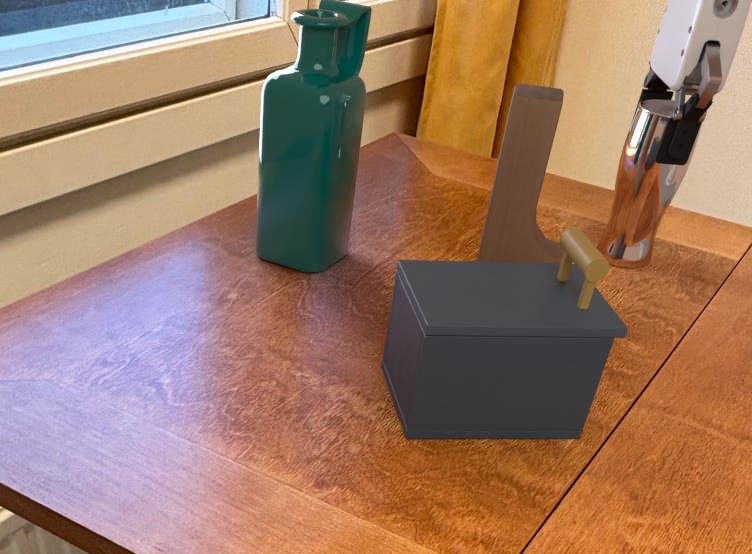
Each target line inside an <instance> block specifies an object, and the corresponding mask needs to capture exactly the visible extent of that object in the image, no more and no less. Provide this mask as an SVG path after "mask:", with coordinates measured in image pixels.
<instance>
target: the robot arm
mask: <svg viewBox="0 0 752 554" xmlns="http://www.w3.org/2000/svg"><path fill="white" fill-rule="evenodd" d="M751 4H752V0H668V1H667V4H666V7H665V10H664V12H663V15H662V19H661V22H660V24H659V27H658V30H657V34H656V37H655V40H654V44H653V47H652V51H651V55H650V60H649V62H648V63H649V70H648V72H647V73H646V75H645V76H644V79H643V85H642V86H643V88H642V89H641V92H640V95H639V97H638V102H637V105H636V107H635V110H634V114H633V117H632V119H631V123H630V125H629V128H630V127H631V124H632V121H633V119H634V116H635V114H636V111H637V108H638V105H639V103H640V102H641V101H643V100H647V99H667V100H673V97H674V101H675V102H674V111H673V117H668V119H667V122H666V125H665V128H664V131H663V134H662V137H661V140H660V143H659V146H658V149H657V151H656V154H655V157H654V160H655V162H656V163H658V164H670V165H685V164H686V163H687V161H688V159H689V156H690V153H691V151H692V148H693V145H694V142H695V140H696V137H697V134H698V132H699V129H700V126H701V123H702V124H703V123H704V122H705V120H706V117H707V112H708V110H709V109H710V107H711V106H712V105H713V103H714V101H713V100H714V97H715V95H717V94H720V93H721V91H722V90H723V89H724V87H725V84H726V82H727V78H728V76H729V74H730V70H731V68H732V64H733V62H734V59H735V56H736V53H737V49H738V47H739V44H740V41H741V38H742V36H743V35H742V34H743V32H744V28H745V24H746V22H747V19H748V15H749V11H750V9H751ZM674 92H675V95H674ZM686 96H690V97H689V98H688V99H687V101H686ZM701 127H702V126H701Z"/></svg>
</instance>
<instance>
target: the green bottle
mask: <svg viewBox="0 0 752 554" xmlns="http://www.w3.org/2000/svg"><path fill="white" fill-rule="evenodd" d="M372 10H373V9H372V7H371V6H369V5H364V4H359V3H353V2H349V1H348V2H347V1H342V0H320V2H319V4H318V8H304V9H303V8H302V9H298V10H295V11H293V13H292V14H291V15H290V20H291V22H293V23H294V24H296V25H297V26H299V36H298V50H297V51H298V52H297V56H296V60H295V62H294V63H293V64H291V65H288V66H286V67H283V68H280V69H277V70H275V71H273V72H272V73H270V74H269V75H268V76H267V77H266V78H265V81H264V83H263V85H262V89H261V96H260V97H261V99H260V120H259V121H260V123H259V147H258V169H257V171H258V172H257V194H256V195H257V196H256V217H255V239H254V241H255V242H254V243H255V244H254V251H255V254H256V255H257V257H258V258H260V259H261V260H264V261H267V262H270V263H273V264H275V265H280V266H283V267H286V268H289V269H292V270H296V271H298V272H301V273H309V274H310V273H311V274H312V273H319V272H323V271H325V270H326V269H327V268H329V267H330V266H332V265H334V264H335V263H336V262H338V261H340V260H341V259H342V258H344V257H345V256H347V254H348V252H349V249H350V247H349V246H350V239H351V230H352V222H353V214H354V213H353V212H354V205H355V195H356V188H357V179H358V170H359V162H360V155H361V144H362V137H363V129H364V128H363V127H364V119H365V110H366V101H367V88H366V87H367V86H366V83H365V81H364V80H363V78H362V77H360V76H359V75H360V74H361V70H362V67H363V64H364V60H365V55H366V49H367V44H368V37H369V31H370V24H371V18H372Z"/></svg>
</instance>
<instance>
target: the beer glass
mask: <svg viewBox="0 0 752 554" xmlns="http://www.w3.org/2000/svg"><path fill="white" fill-rule="evenodd" d="M674 102H675V99H674V100H673V99H672V100H667V99H647V100H643V101H641V102H640V103H639V105H638V108H637V111H636V110H635V111H636V114H635V113H634V114H635V116H634V115H633V117H634V119H633V118H632V120H633V121H632V120H631V123H632V124H631V123H630V126H631V127H630V126H629V130H628V132H627V134H626V137H625V140H624V144H623V147H622V150H621V155H620V156H619V157H620V158H619V162H618V167H617V172H616V176H615V177H616V178H615V184H614V190H613V197H612V198H613V199H612V203H611V211H610V214H609V218H608V221H607V225H606V226H605V227H606V228H605V230H604V232H603V234H602V236H601V238H600V239H599V242H598V244H597V245H596V248H597V249H598V250H599V251H600V253H601V254H602V255H603V256H604V257H605V259H606V260H607V261H608V263H609V265H611V266H615V267H619V268H624V269H641V268H644V267H646V266H648V265H649V264H650V263H651V260H652V258H653V257H652V256H653V250H654V245H655V240H656V236H657V232H658V229H659V227H660V225H661V222H662V221H663V218H664V217H665V214H666V213H667V210H668V209H669V207H670V205H671V203H672V202H673V199H674V198H675V196H676V194H677V192H678V190H679V189H680V186H681V184H682V182H683V181H684V178H685V176H686V174H687V171H688V169H689V166H690V164H691V162H692V159H693V156H694V153H695V150H696V147H697V144H698V140H699V136H700V133H701V130H702V125H703V122H702V123H701V126H700V129H699V132H698V134H697V137H696V140H695V142H694V145H693V148H692V151H691V153H690V156H689V159H688V161H687V163H686V164H685V165H670V164H658V163H656V162H655V160H654V157H655V154H656V151H657V149H658V146H659V143H660V140H661V137H662V134H663V131H664V128H665V125H666V122H667V119H668V117H673V111H674Z"/></svg>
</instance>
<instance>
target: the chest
mask: <svg viewBox="0 0 752 554" xmlns="http://www.w3.org/2000/svg"><path fill="white" fill-rule="evenodd" d="M386 327H387V328H386V333H385V339H384V346H383V353H382V360H381V366H380V368H381V371H382V373H383V376H384V379H385V382H386V385H387V388H388V391H389V394H390V396H391V400H392V403H393V405H394V407H395V408H394V409H395V411H396V414H397V416H398V420H399V422H400V425H401V428H402V432H403V435H404V437H405V439H406V440H580V438H581V435H582V432H583V430H584V426H585V424H586V421H587V419H588V417H589V413H590V410H591V407H592V405H593V402H594V398H595V396H596V393H597V390H598V388H599V384H600V382H601V379H602V376H603V374H604V370H605V367H606V364H607V361H608V359H609V356H610V353H611V350H612V347H613V344H614V341H615V338H594V337H525V336H456V335H426V334H425V332H424V330H423V328H422V325H421V323H420V321H419V318H418V316H417V314H416V312H415V309H414V307H413V305H412V303H411V300H410V298H409V296H408V293H407V291H406V289H405V287H404V284H403V282H402V280H401V277H400V275H399V273H398V271H397V270H396V271H395V276H394V283H393V289H392V296H391V302H390V308H389V315H388V321H387V326H386ZM444 438H445V439H444ZM452 438H454V439H452ZM456 438H457V439H456ZM460 438H461V439H460Z"/></svg>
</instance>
